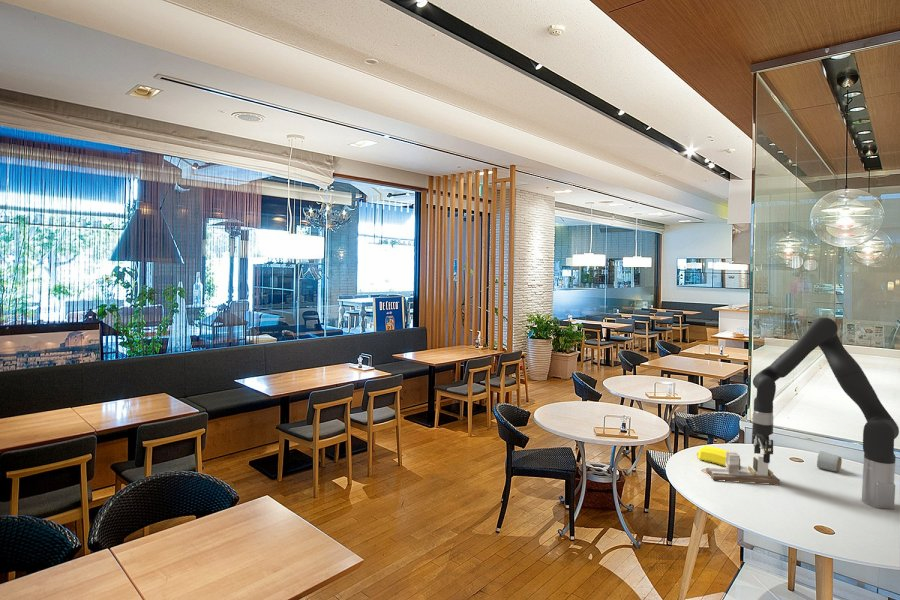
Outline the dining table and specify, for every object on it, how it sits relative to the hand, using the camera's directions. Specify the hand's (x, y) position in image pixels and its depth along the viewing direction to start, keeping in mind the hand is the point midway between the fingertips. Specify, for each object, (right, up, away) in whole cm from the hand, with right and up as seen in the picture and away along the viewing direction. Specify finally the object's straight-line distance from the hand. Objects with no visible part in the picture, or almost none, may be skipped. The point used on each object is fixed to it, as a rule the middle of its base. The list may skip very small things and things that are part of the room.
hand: (761, 459), depth 218 cm
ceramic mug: (+39, -9, +14) cm, 42 cm away
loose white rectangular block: (0, -6, +1) cm, 7 cm away
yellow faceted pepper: (-9, -8, +20) cm, 24 cm away
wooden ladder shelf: (-7, -9, +2) cm, 12 cm away
